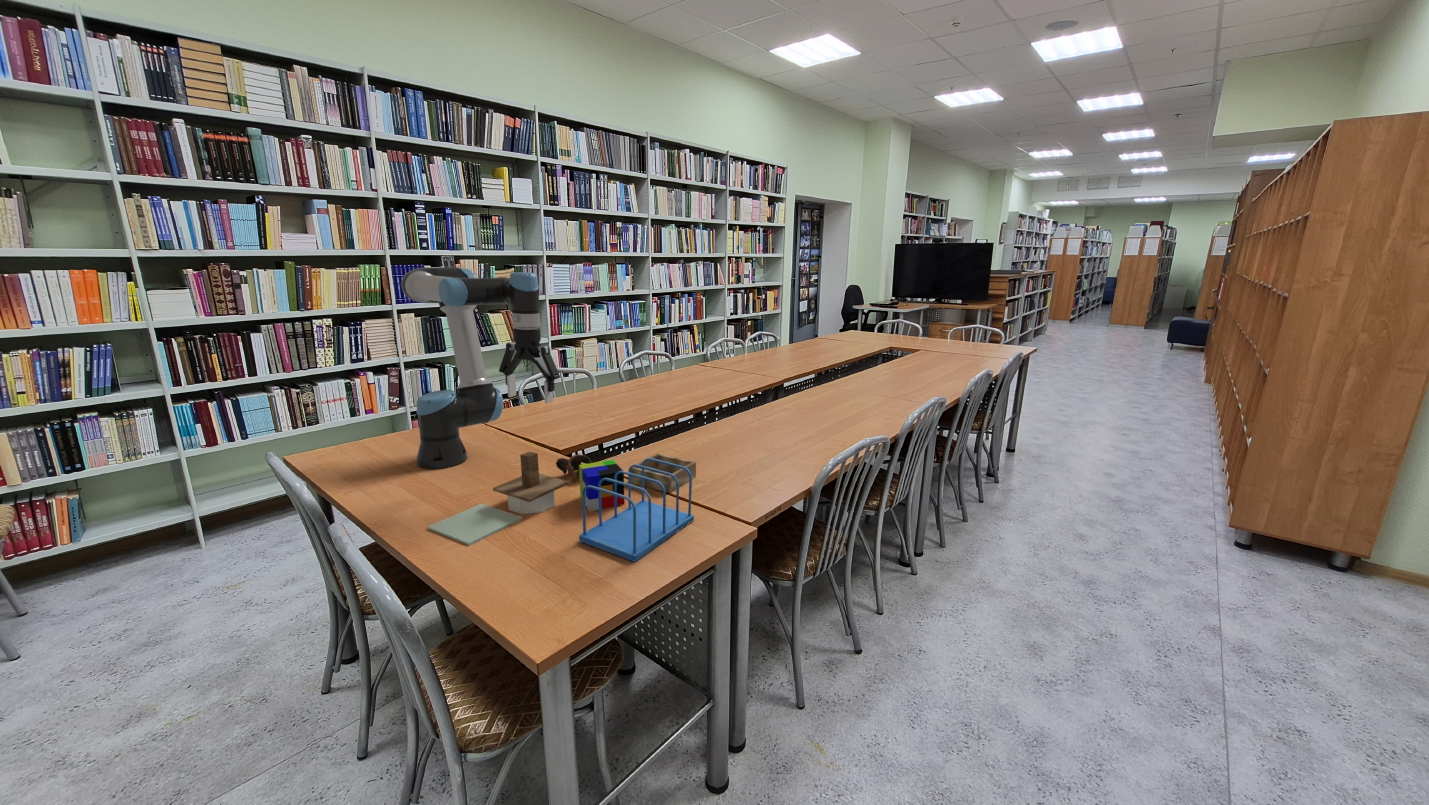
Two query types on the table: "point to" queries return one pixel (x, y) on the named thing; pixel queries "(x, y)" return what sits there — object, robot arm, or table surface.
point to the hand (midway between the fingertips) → (530, 399)
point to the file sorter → (636, 518)
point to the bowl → (531, 504)
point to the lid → (530, 481)
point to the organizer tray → (666, 480)
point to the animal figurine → (572, 465)
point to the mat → (474, 524)
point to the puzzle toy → (593, 475)
